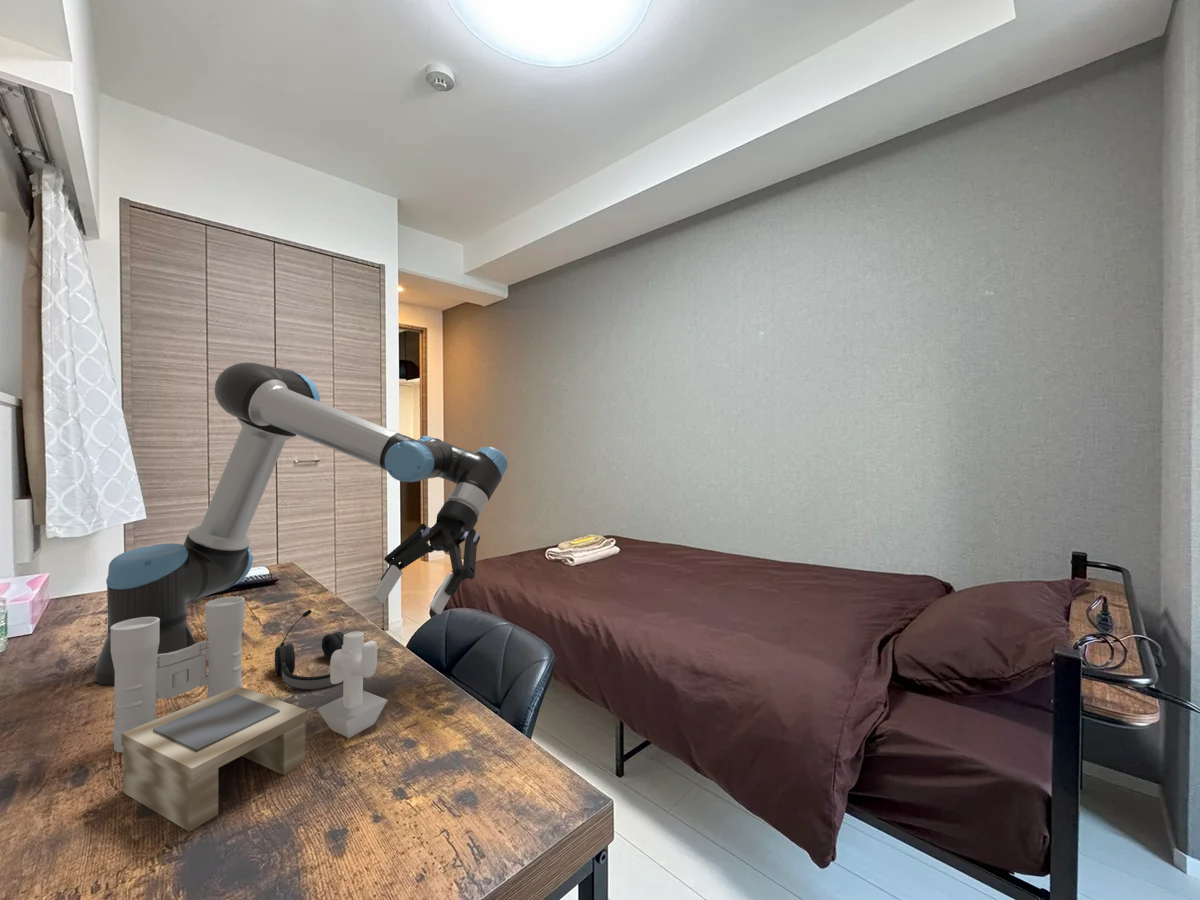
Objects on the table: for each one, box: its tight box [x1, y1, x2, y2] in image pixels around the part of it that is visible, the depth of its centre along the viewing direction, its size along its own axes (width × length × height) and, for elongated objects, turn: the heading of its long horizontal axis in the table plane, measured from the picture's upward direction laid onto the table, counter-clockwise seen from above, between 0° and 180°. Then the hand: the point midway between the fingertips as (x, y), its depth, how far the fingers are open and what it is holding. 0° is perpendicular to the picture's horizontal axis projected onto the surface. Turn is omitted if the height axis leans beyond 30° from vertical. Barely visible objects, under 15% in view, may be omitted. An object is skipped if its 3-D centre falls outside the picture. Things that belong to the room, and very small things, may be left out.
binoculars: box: [110, 596, 246, 753], centre depth 80 cm, size 17×5×18 cm, turn 152°
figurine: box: [316, 630, 388, 739], centre depth 79 cm, size 7×9×15 cm
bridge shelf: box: [121, 686, 309, 833], centre depth 67 cm, size 16×14×8 cm
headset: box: [274, 609, 345, 691], centre depth 99 cm, size 13×9×19 cm
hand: (405, 605), depth 88 cm, fingers open, 13 cm apart
